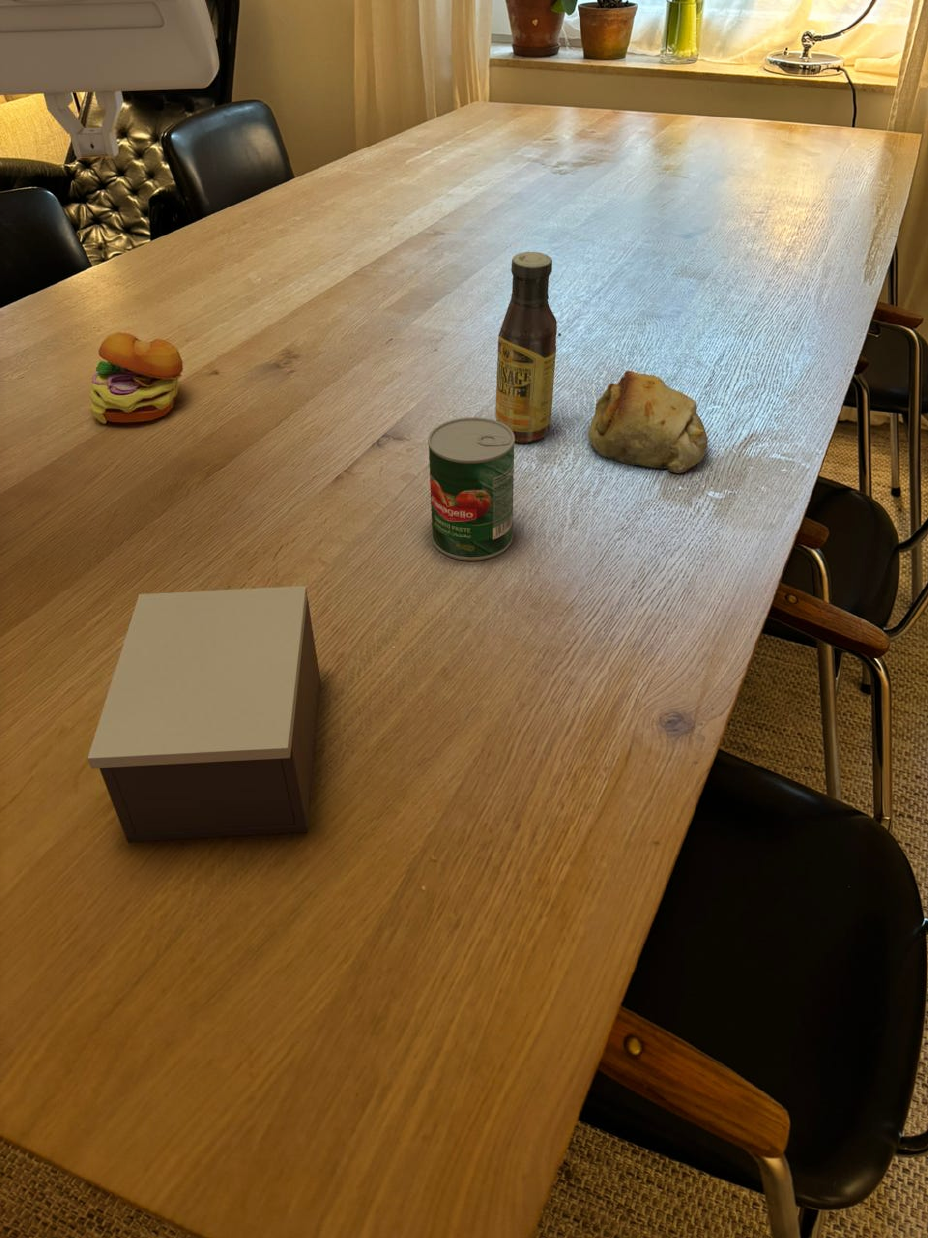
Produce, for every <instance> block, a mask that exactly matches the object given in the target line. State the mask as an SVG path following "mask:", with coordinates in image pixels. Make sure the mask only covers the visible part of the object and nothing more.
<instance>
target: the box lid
mask: <svg viewBox="0 0 928 1238" xmlns="http://www.w3.org/2000/svg"><path fill="white" fill-rule="evenodd" d="M307 589H308V588H307V586H306V585H303V586H302V585H299V586H297V585H296V586H279V587H277V586H276V587H275V586H274V587H259V588H258V587H257V588H236V589H235V588H234V589H216V590H214V589H213V590H194V591H174V592H153V593H139V594H138V597H137V600H136V603H135V607H134V609H133V612H132V616H131V619H130V621H129V624H128V625H129V626H128V628H127V632H126V635H125V638H124V641H123V644H122V647H121V651H120V654H119V656H118V659H117V663H116V666H115V670H114V673H113V675H112V678H111V682H110V685H109V688H108V691H107V695H106V697H105V700H104V704H103V708H102V709H101V713H100V717H99V720H98V723H97V726H96V730H95V733H94V736H93V738H92V742H91V745H90V748H89V752H88V753H87V754H88V755H87V757H86V758H87V761H88V764H89V767H90V769H99V768H111V767H130V766H149V765H168V764H187V763H206V762H225V761H244V760H263V759H282V758H290V753H291V743H292V734H293V725H294V716H295V707H296V697H297V688H298V679H299V670H300V661H301V651H302V642H303V633H304V624H305V615H306V605H307V597H308V591H307Z"/></svg>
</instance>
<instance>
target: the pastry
mask: <svg viewBox="0 0 928 1238" xmlns="http://www.w3.org/2000/svg"><path fill="white" fill-rule="evenodd" d="M697 410H698V409H697V402H696V400H695V399H694V398H692V397H690V396H689V395H686V394H685V393H684V392H682V391H679V390H676V389H673V388H671V387H670V386H668V385H667V384H666V383H665V382H664V380H663V378H660V377H658V376H655V375H654V374H646V373H640V372H639V373H638V372H635V371H632V370H626V371H625V373H624V375H623V376H622V377H621V378H620V380H619V381H618V382H617V383H616V384H615V383H609V384H608V385H607V388H606V390H604V392H603V393H602V396H600V397H599V398H598V400H597V402H596V405H595V411H594V414H593V418H592V419H591V423H590V426H589V430H588V437H589V441H590V444H591V445H592V447H593V448H594V449H595V451H596V453H598V454H600V455H601V456H602V457H605V458H609V459H610V460H613V461H616V462H619V463H622V464H628V465H634V466H640V467H645V468H650V469H661V470H662V469H667V471H668V472H669V473H676V474H682V473H685V472H687V471H688V470H690V469H691V468H692V467H694V466H696V465H697V464H699V463H700V462H701V461H702V460H703V458H704V456H705V454H706V453H707V448H708V440H709V439H708V435H707V431H706V428H705V426H704V424H703V421H702V419H701V418H700V416H699V415H698V413H697Z"/></svg>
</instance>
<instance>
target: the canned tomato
mask: <svg viewBox="0 0 928 1238" xmlns="http://www.w3.org/2000/svg"><path fill="white" fill-rule="evenodd" d="M515 443H516V441H515V435H514V433H513V431H512V430H511V429H510V428H509V427H508V426H506V425H505V424H503V423H501V422H498V421H496V419H492V418H486V417H479V416H472V417H471V416H467V417H458V418H454V419H450V420H447V421H445V422H442V423H441V424H439V425H436V427H435V428H433V429H432V430H431V432H430V433H429V435H428V438H427V445H428V460H429V482H430V483H429V484H430V505H431V506H430V507H431V508H430V510H431V511H430V512H431V528H432V529H431V530H432V533H431V540H432V543H433V545H434V547H435V548H436V550H437V551H439V552H440V553H441V554H443V555H445V556H446V557H449V558H451V559H455V560H458V561H466V562H477V561H484V560H485V561H486V560H488V559H492V558H495V557H496V556H499V555H501V554H503V553H504V552H505V551H507V550H508V548H509V547H510V546H511V544H512V543H513V539H514V533H513V526H514V524H513V523H514V489H515V484H514V481H515V477H514V475H515Z"/></svg>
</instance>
